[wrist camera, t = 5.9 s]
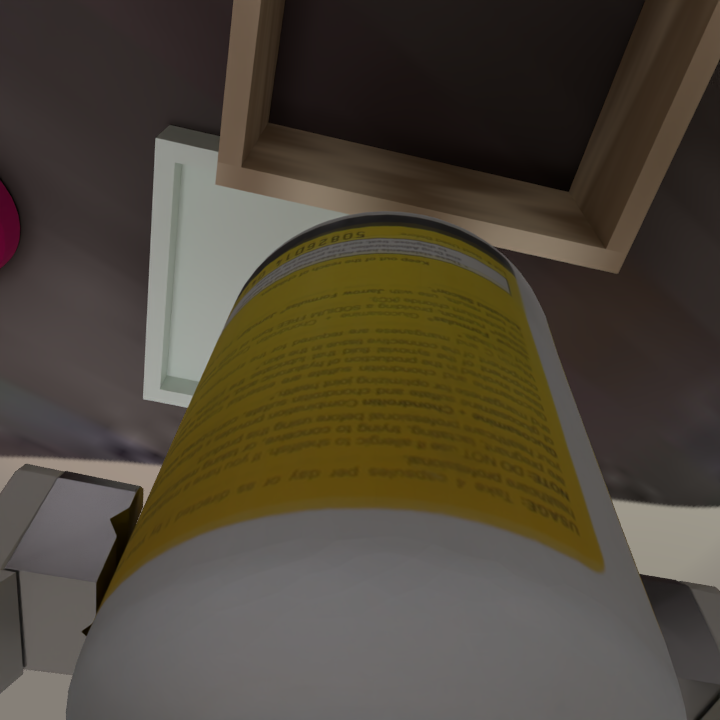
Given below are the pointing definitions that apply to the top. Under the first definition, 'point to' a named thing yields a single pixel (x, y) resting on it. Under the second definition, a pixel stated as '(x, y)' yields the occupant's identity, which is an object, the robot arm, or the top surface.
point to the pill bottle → (379, 510)
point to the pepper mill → (8, 226)
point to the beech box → (474, 188)
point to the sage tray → (203, 257)
